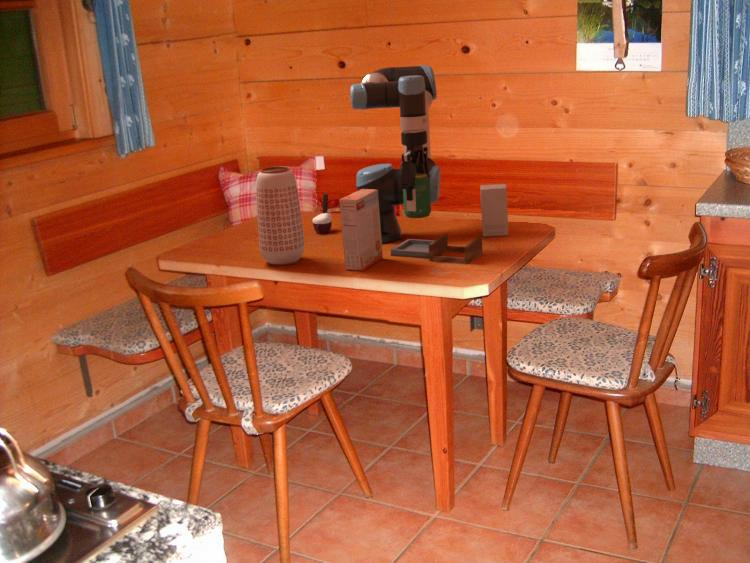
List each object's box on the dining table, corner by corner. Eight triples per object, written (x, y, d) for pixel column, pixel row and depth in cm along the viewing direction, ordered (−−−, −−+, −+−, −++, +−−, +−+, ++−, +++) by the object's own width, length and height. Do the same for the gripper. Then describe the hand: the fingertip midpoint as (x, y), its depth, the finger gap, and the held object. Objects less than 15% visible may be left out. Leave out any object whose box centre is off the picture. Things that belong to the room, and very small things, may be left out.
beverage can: (432, 212, 259) (431, 172, 255) (429, 218, 251) (427, 177, 248) (406, 212, 261) (404, 173, 257) (402, 218, 253) (400, 178, 250)
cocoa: (321, 237, 285) (317, 202, 281) (307, 234, 289) (304, 199, 285) (340, 229, 292) (337, 195, 287) (327, 226, 296) (324, 193, 291)
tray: (390, 255, 257) (390, 249, 256) (408, 244, 268) (408, 238, 267) (431, 258, 251) (430, 252, 251) (447, 247, 262) (447, 241, 262)
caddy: (429, 261, 249) (428, 244, 247) (444, 250, 259) (444, 234, 257) (468, 264, 243) (467, 247, 242) (482, 252, 254) (482, 236, 252)
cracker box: (365, 256, 257) (360, 188, 251) (383, 258, 255) (379, 188, 248) (343, 270, 245) (338, 198, 239) (362, 271, 243) (357, 199, 237)
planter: (274, 254, 266) (265, 164, 258) (313, 256, 261) (305, 164, 252) (253, 266, 254) (243, 172, 246) (293, 269, 249) (284, 173, 241)
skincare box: (507, 231, 276) (506, 183, 271) (508, 236, 270) (507, 187, 265) (481, 232, 277) (480, 184, 272) (481, 237, 271) (480, 188, 266)
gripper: (411, 136, 238) (414, 216, 245) (439, 125, 256) (442, 200, 262) (386, 135, 241) (391, 215, 248) (416, 125, 259) (419, 199, 266)
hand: (417, 207), depth 255 cm, fingers closed on beverage can, 8 cm apart
